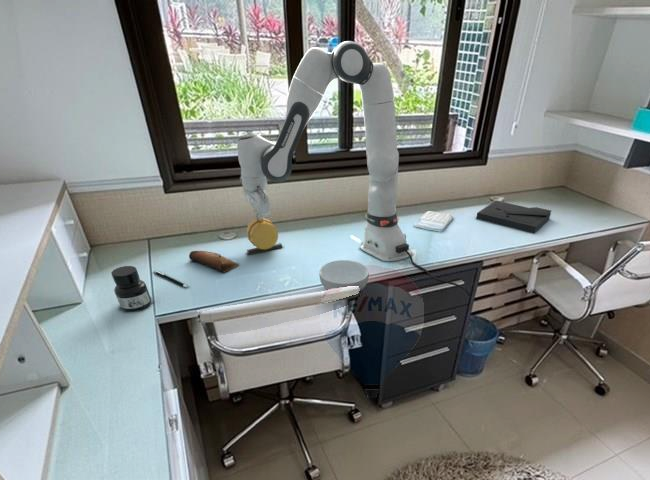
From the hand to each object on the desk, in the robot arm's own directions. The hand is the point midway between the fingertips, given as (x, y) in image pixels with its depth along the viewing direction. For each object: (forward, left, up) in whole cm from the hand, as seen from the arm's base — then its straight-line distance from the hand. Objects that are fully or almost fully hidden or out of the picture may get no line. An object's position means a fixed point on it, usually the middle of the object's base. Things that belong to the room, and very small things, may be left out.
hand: (259, 219), depth 156 cm
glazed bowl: (+2, 0, -6) cm, 6 cm away
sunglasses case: (-2, +20, -13) cm, 24 cm away
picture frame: (-22, -118, -13) cm, 121 cm away
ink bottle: (-20, +49, -13) cm, 54 cm away
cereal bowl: (-43, -14, -13) cm, 47 cm away
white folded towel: (-8, -80, -13) cm, 82 cm away
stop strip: (0, 0, -13) cm, 13 cm away
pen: (-8, +37, -13) cm, 40 cm away
